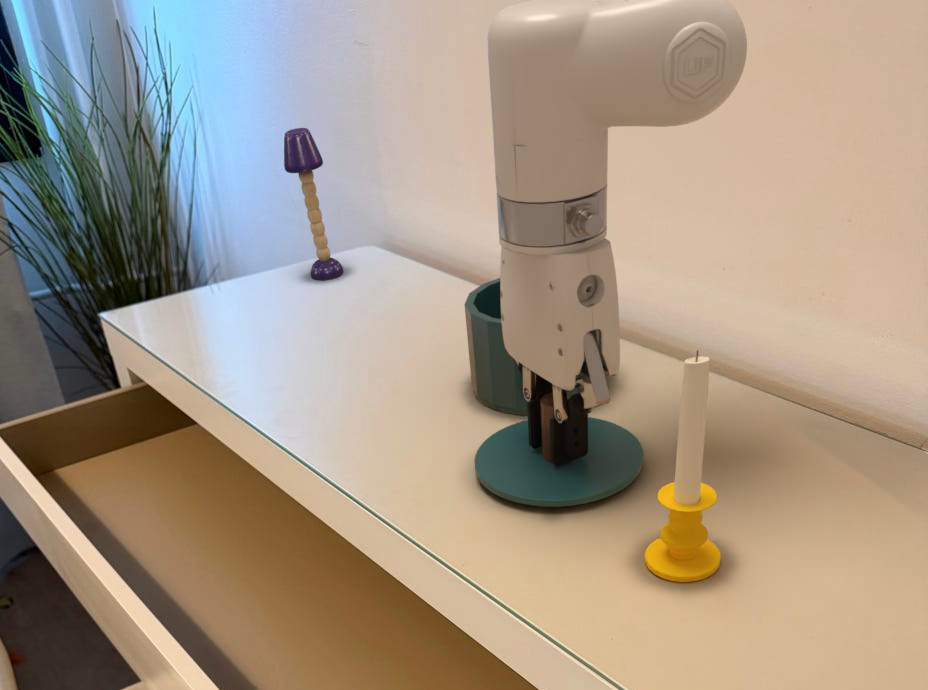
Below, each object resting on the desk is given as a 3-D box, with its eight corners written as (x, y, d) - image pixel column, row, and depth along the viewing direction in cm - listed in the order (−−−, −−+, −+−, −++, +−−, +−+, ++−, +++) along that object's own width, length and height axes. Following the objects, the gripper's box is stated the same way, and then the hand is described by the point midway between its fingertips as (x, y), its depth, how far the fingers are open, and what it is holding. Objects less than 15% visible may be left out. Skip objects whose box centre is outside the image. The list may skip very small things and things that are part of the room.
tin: (514, 348, 96) (509, 265, 90) (627, 367, 90) (629, 278, 85) (448, 401, 88) (439, 313, 83) (567, 425, 83) (565, 332, 77)
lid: (526, 416, 85) (523, 351, 81) (669, 445, 78) (674, 376, 74) (444, 490, 76) (436, 422, 72) (597, 529, 70) (597, 456, 66)
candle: (631, 550, 67) (638, 344, 57) (696, 532, 68) (714, 325, 58) (666, 590, 63) (680, 376, 53) (734, 570, 64) (760, 356, 54)
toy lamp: (310, 283, 117) (281, 137, 106) (303, 272, 121) (274, 130, 110) (347, 275, 118) (322, 129, 107) (338, 265, 121) (313, 122, 111)
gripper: (669, 230, 60) (656, 478, 72) (537, 180, 71) (545, 402, 83) (570, 258, 58) (573, 509, 69) (451, 203, 69) (471, 427, 81)
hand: (558, 449), depth 76 cm, fingers closed on lid, 2 cm apart
